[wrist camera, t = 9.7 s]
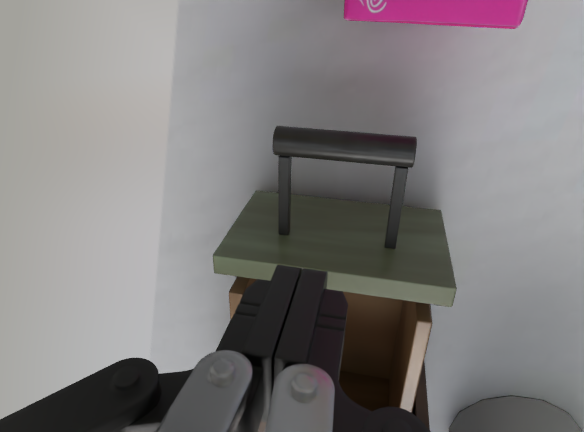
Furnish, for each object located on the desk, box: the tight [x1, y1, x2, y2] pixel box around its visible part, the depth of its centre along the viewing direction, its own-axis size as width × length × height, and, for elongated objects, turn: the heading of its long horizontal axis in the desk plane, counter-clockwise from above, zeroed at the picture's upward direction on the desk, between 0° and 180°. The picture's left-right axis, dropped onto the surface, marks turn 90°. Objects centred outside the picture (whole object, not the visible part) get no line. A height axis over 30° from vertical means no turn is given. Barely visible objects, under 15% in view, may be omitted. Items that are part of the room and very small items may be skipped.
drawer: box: [213, 126, 457, 413], centre depth 28 cm, size 22×12×8 cm, turn 179°
